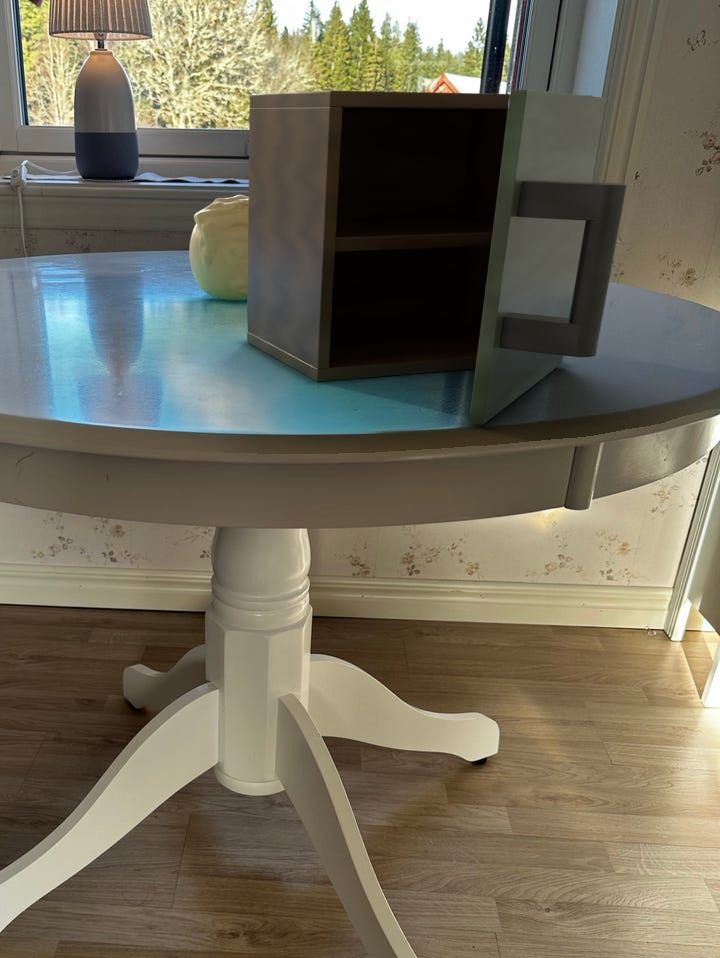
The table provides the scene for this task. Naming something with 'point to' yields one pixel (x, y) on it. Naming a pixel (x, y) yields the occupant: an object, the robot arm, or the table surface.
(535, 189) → the cupboard door
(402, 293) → the cupboard
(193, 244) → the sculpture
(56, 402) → the table surface
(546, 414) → the table surface
